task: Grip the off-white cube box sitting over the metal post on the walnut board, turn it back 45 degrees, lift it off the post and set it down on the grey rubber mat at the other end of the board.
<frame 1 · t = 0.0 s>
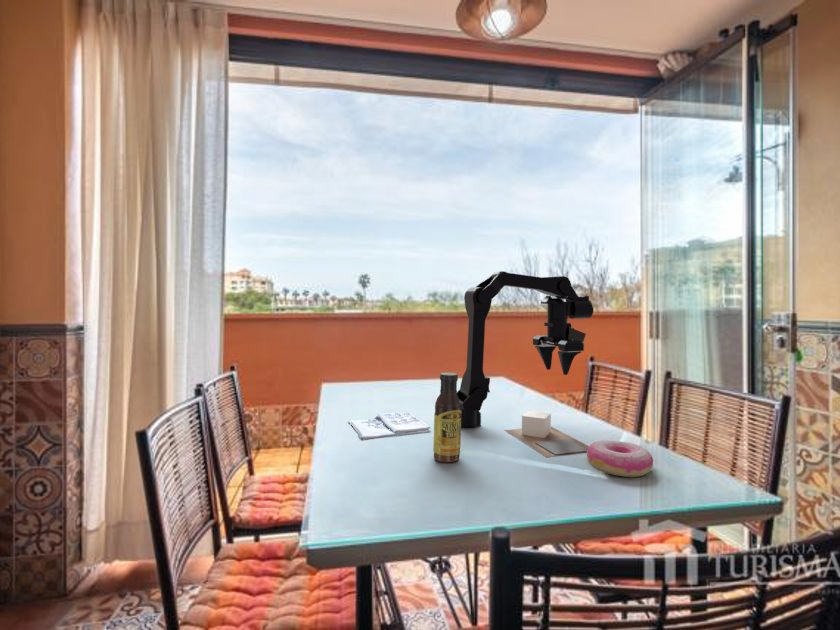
hand: (556, 372, 141), 15 cm above the table, tool pointing down, fingers open, 9 cm apart
sauce bottle: (447, 459, 110), on the table
off-white cube box: (536, 433, 127), point 1 cm above the table, touching post stand
donut: (618, 470, 104), on the table
post stand: (548, 443, 121), on the table
open sketchbook: (386, 429, 137), on the table
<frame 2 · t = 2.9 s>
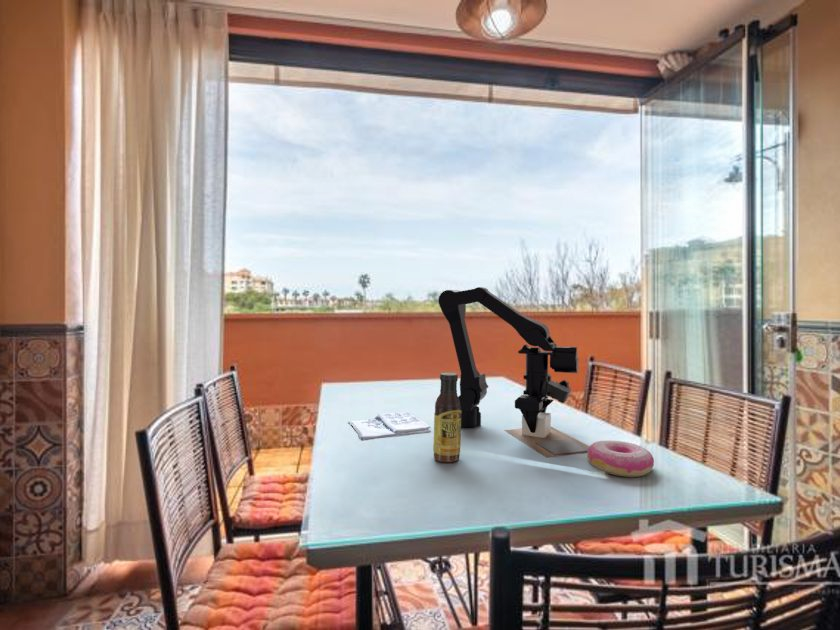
hand: (536, 429, 126), 2 cm above the table, tool pointing down, fingers closed on off-white cube box, 6 cm apart
off-white cube box: (536, 433, 127), point 1 cm above the table, touching gripper, post stand
everything else where it was.
when the fingers open (3 cm above the table, at t = 9.2 s): off-white cube box drops 1 cm, resting on post stand.
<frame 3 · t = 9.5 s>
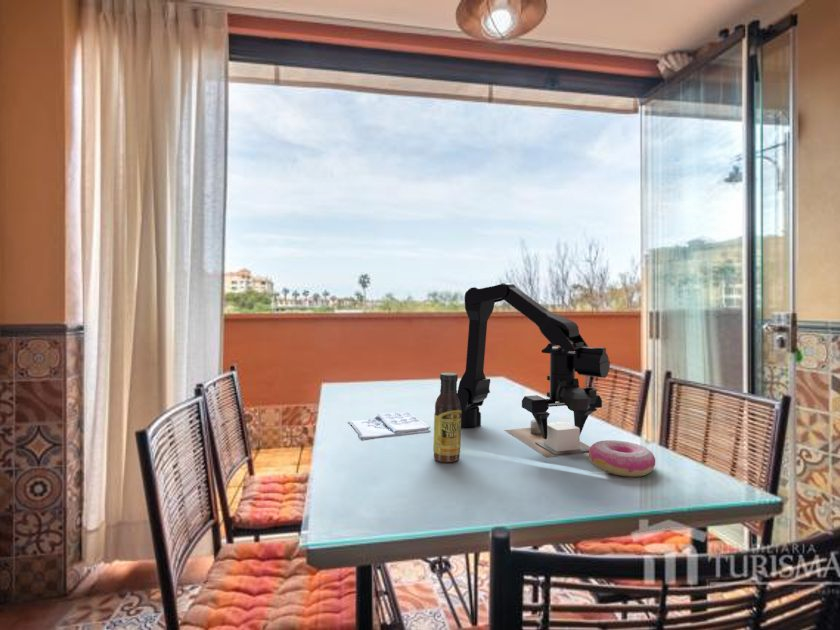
hand: (561, 437, 115), 3 cm above the table, tool pointing down, fingers open, 9 cm apart
off-white cube box: (561, 446, 115), point 1 cm above the table, touching post stand
everything else where it was.
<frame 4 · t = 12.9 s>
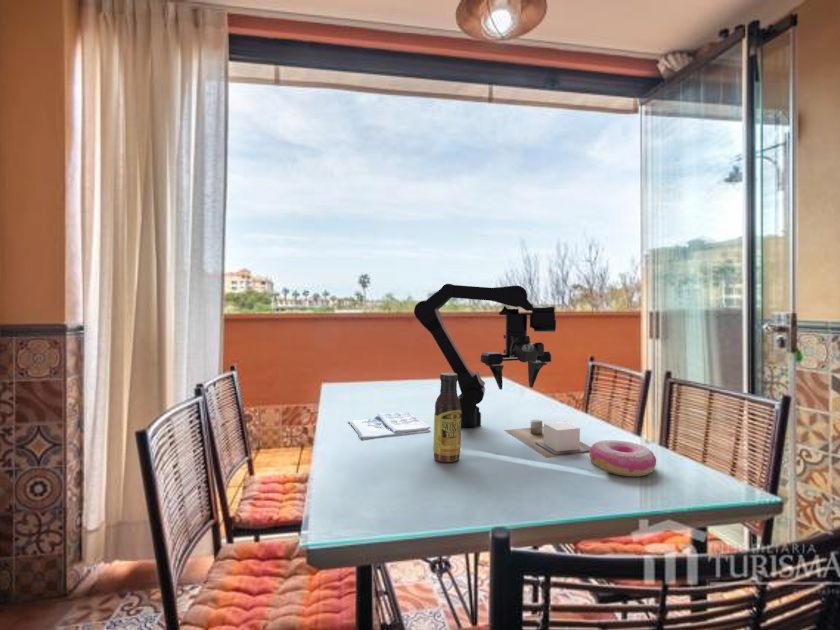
hand: (515, 388, 131), 12 cm above the table, tool pointing down, fingers open, 9 cm apart
nothing on the table moved.
at the end: off-white cube box 0.0 cm from the target spot on the post stand, point 1.3 cm above the post stand's base; off-white cube box tilted 0°; the gripper is holding nothing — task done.
